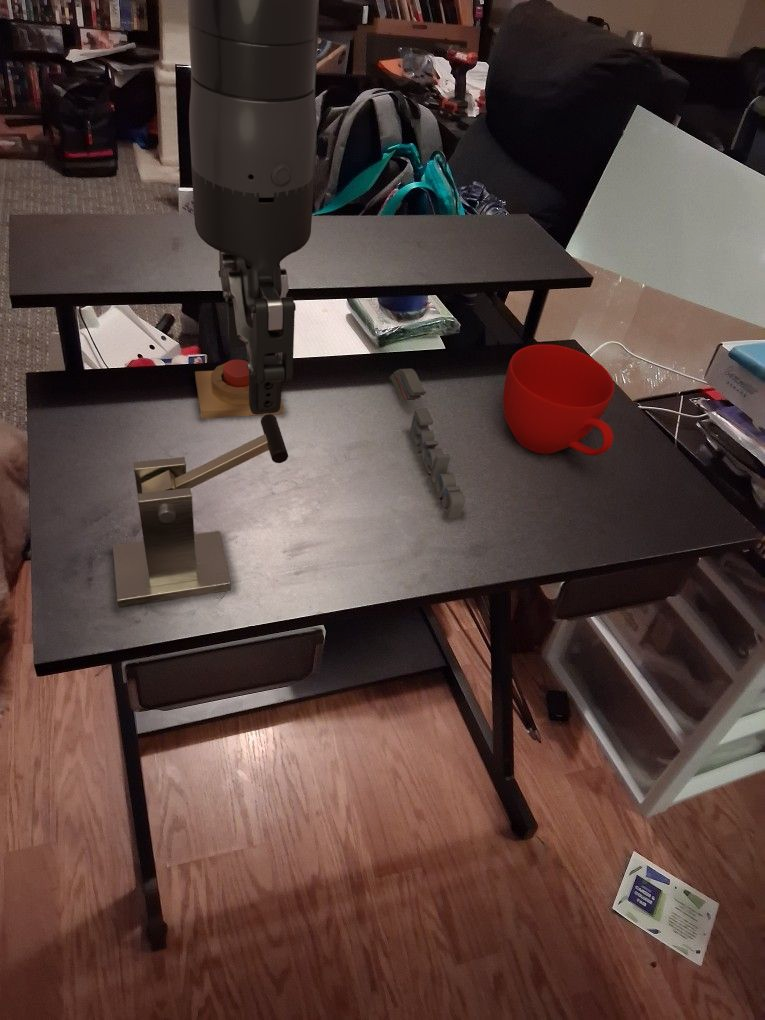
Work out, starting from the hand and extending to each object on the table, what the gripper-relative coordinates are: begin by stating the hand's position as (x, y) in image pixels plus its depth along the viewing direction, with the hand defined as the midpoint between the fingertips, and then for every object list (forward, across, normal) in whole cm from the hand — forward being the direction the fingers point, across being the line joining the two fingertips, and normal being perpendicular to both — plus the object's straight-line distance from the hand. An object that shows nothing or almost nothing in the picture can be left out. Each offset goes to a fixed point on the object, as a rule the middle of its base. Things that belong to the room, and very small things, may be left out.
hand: (253, 376), depth 57 cm
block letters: (+25, -16, +24) cm, 38 cm away
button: (+22, -28, +4) cm, 36 cm away
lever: (+12, -2, -2) cm, 12 cm away
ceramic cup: (+25, -13, +41) cm, 49 cm away
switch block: (+24, -28, +4) cm, 38 cm away
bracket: (+24, -2, -8) cm, 25 cm away
